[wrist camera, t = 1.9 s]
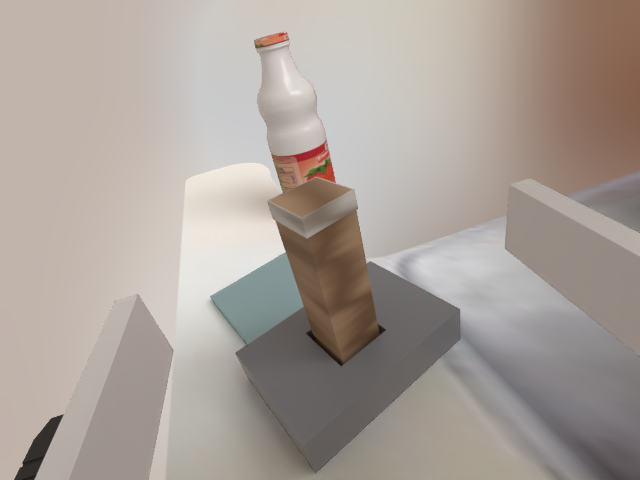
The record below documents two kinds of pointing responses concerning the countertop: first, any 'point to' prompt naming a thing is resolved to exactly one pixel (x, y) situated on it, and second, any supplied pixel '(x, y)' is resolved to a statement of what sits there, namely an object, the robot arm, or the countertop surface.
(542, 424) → the countertop surface
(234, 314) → the pad
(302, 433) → the block
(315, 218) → the walnut plug
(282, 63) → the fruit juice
